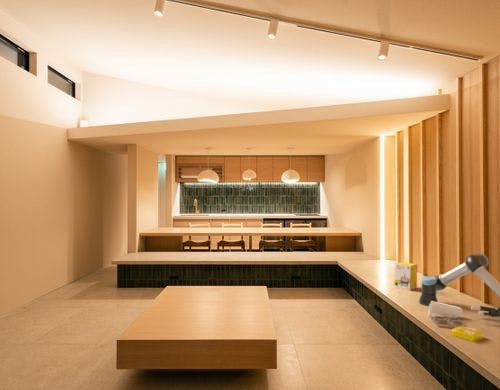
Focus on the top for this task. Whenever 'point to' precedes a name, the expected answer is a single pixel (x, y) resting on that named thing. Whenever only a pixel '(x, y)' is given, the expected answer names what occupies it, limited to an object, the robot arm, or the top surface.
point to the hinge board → (447, 322)
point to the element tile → (468, 333)
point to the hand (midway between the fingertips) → (474, 310)
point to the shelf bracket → (444, 310)
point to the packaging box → (405, 276)
